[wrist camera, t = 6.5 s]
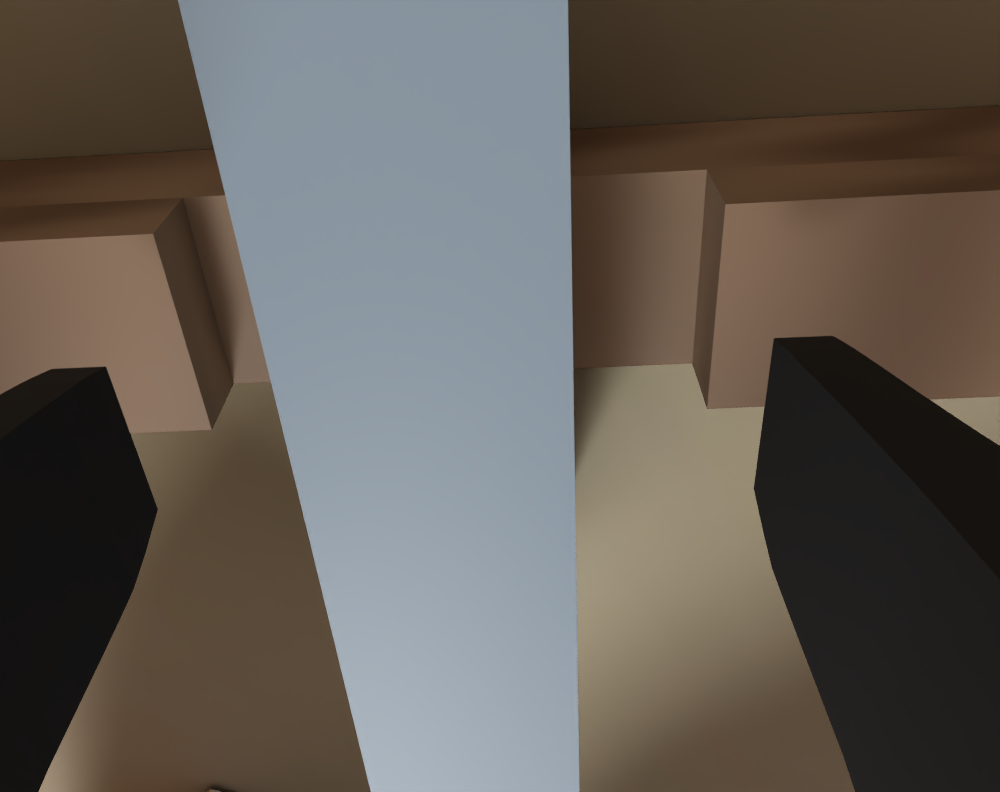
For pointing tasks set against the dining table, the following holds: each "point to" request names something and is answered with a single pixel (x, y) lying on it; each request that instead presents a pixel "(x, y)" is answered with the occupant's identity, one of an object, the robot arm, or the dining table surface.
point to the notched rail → (595, 259)
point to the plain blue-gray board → (418, 355)
